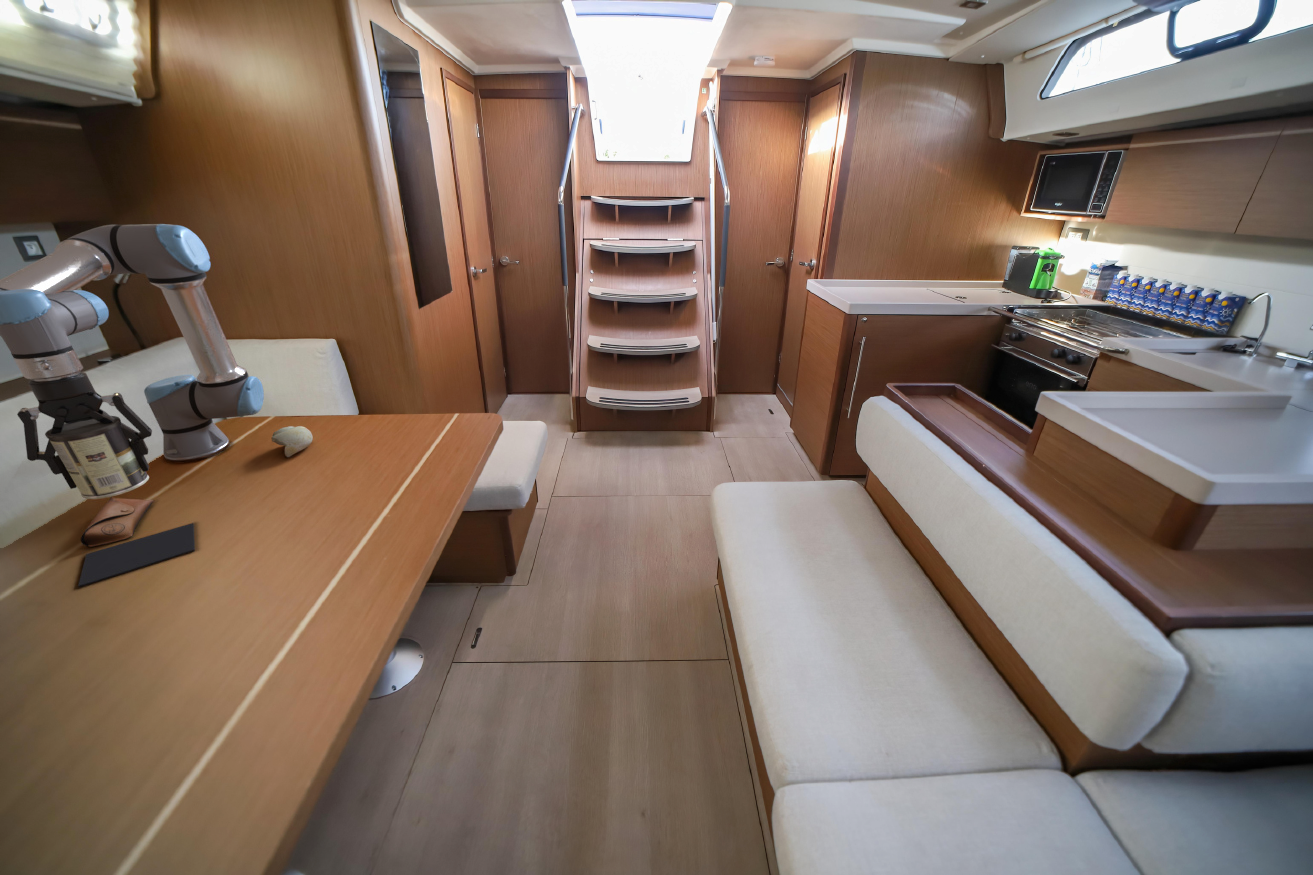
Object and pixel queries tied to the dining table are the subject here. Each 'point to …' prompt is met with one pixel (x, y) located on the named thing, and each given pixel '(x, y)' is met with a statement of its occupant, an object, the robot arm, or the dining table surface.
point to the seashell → (292, 439)
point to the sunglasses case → (115, 521)
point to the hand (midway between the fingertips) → (111, 477)
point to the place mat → (137, 554)
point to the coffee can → (98, 458)
